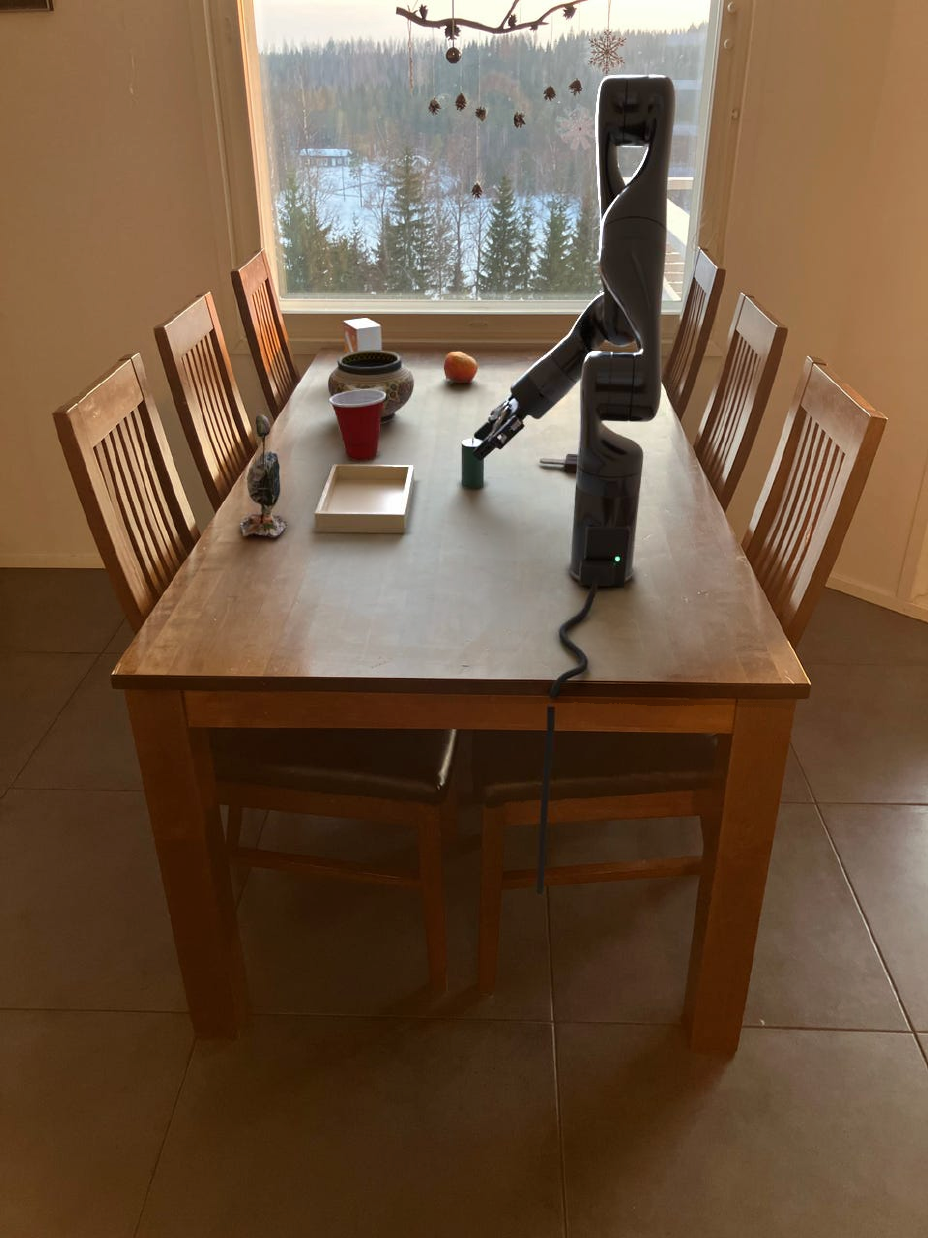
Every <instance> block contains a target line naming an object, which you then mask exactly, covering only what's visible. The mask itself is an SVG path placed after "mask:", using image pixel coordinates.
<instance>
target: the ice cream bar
mask: <svg viewBox="0 0 928 1238" xmlns="http://www.w3.org/2000/svg"><path fill="white" fill-rule="evenodd" d="M577 459H578V453H566V456H565V459H561V458H547V457H544V458H543V457H542V458H540V459H539V464H542V465H544V464H545V465H556V466H557V465H558V466H563V471H564V472H567V473H577Z"/></svg>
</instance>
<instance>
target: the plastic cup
mask: <svg viewBox="0 0 928 1238" xmlns="http://www.w3.org/2000/svg"><path fill="white" fill-rule="evenodd" d="M385 397H386V393H384V392H382V391H378V390H366V389H364V390H352V391H347V392H342V393H339V394H336V395H334V396H332V397H331V396H330V397H329V398H328V399H329V400H328V403H329V404H330V405H331V406H332V409H333V411H334V413H335V416H336V420H337V423H338V428H339V432H340V437H341V441H342V442H343V446H344V451H345V454H346V457H347V458H348V459H349V460H352V461H370V460H373V459H374V458H376V457H377V453H378V447H379V441H380V433H381V432H380V431H381V425H382V424H381V414H382V408H383V403H384V399H385Z"/></svg>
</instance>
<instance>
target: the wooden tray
mask: <svg viewBox="0 0 928 1238" xmlns="http://www.w3.org/2000/svg"><path fill="white" fill-rule="evenodd" d="M414 482H415V466H414V465H413V464H340V463H339V464H332V467H331V469H330V472H329V474H328V477H327V480H326V483H325V485H324V488H323V491H322V493H321V496H320V498H319V500H318V503H317V506H316V508H315V511H314V523H315V524H314V527H315V532H316V533H381V534H382V533H385V534H387V533H388V534H391V533H393V534H405V533H406V528H407V523H408V518H409V511H410V507H411V501H412V495H413V489H414V485H415V483H414Z"/></svg>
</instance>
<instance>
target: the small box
mask: <svg viewBox="0 0 928 1238" xmlns="http://www.w3.org/2000/svg"><path fill="white" fill-rule="evenodd" d="M343 335H344V352H345V353H344V354H347V353H351V352H356V351H366V350H382V351H383V346H382V345H383V343H382V326H381V324H379V323H377V322H376V321H373V320H371V319H369V318H366V317H365V318H357V319H349V320H343Z"/></svg>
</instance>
